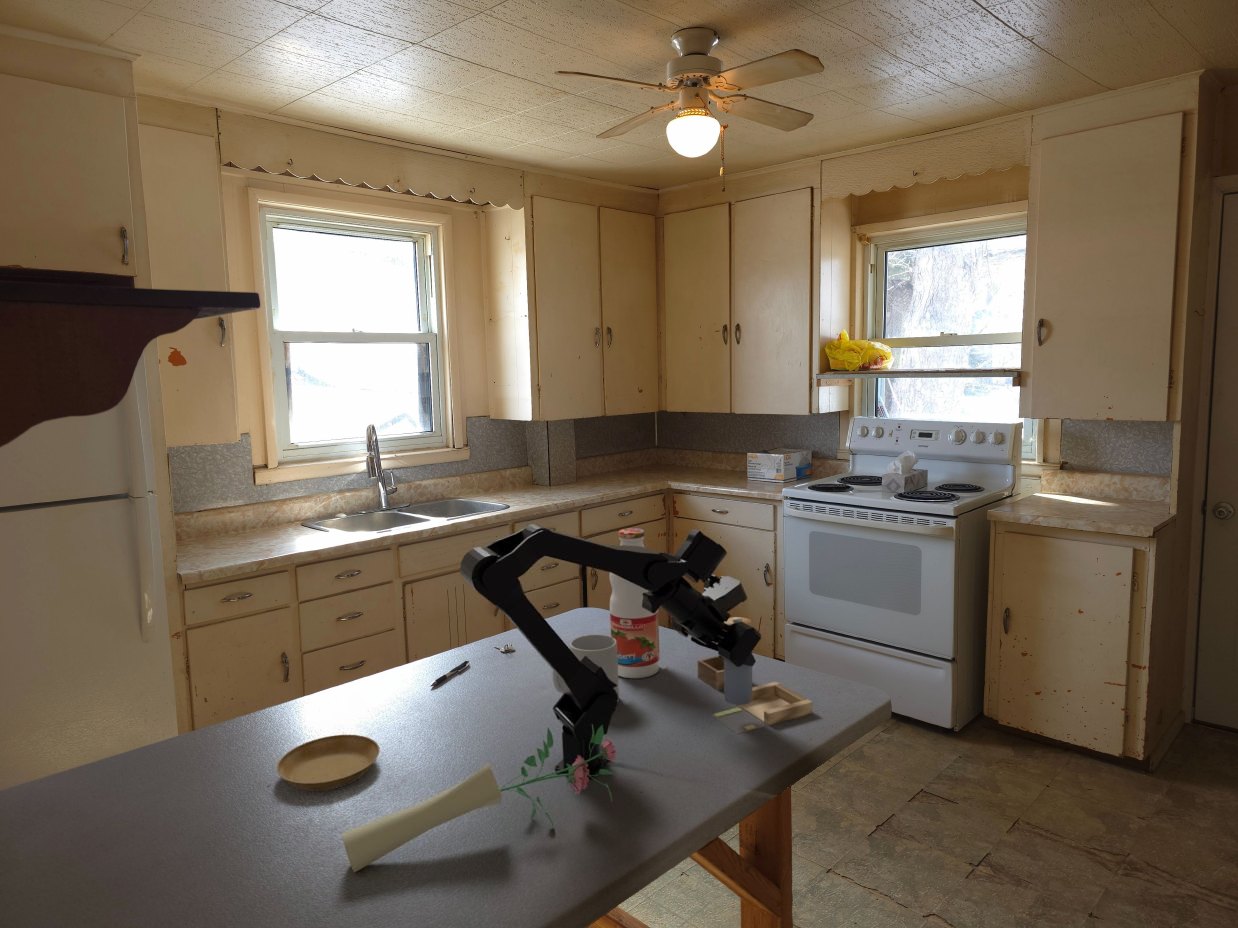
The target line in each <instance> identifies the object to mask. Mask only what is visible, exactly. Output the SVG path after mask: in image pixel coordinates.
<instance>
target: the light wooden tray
mask: <svg viewBox="0 0 1238 928" xmlns="http://www.w3.org/2000/svg"><path fill="white" fill-rule="evenodd" d="M752 693H753V700H752V702H750V703H748V704H744V705H736V706H737V707H738V708H739V707H740V708H741V709H743V710H744V711H746V712H747V713H749V714H750V715H752V716H753V717H755V718H757V719H758V720H760V721H761V722H763V723H764V724H766V725H767V727H768V726H773V725H777V724H780V723H783V722H787V721H792V720H795V719H798V718H802V717H805V716H809V715H812V714H813V701H812V700H810V699H808V698H806V697H804V696H802V695H801V694H799V693H797V692H795V691H794V690H792V689H790V688H788V687H787V686H784V685H783V684H782V683H780V682H778V681H772V682H769V683H764V684H760V685H757V686H752Z"/></svg>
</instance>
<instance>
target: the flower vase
mask: <svg viewBox="0 0 1238 928" xmlns="http://www.w3.org/2000/svg"><path fill="white" fill-rule="evenodd" d="M592 729H593V724H592ZM604 736H605V735H604V731H603V725H601V727H600V728H599V729H598V730H597V732H596V735H595V737H594V729H593V734H592V738H591V742H592V743H594V745H595V744H601V747H599V748H600V750H601V753H600V754H598V755H596V756H594V757H592V758H590V759H588V760H586V761H585V760H584V758H582V757H581V756H579V755H578V758H576V761H575V762H574V763H573V764H572V766H571V765H569V764H567V766H568V768H566V769H563V770H560V771H554V772H550V773H546V774H544V775H541V776H539V774H540V773H541V771H542V769H543V767H544V763H545V760H546V759H547V758H549V757H550V751H549V749H550V748H552V747H554V738H553V734H552V732H551V729H550V728H549V727H547V731H546V741H545V740H544V739H543V742H542V743H543V744H542V745H543V750H542V749H541V748H538V747H537V748H536V751H537V757H538V759H539V761H540V764H541V767H540V769H539V771H538V774H537V775H536V777H534V778H532V779H529V780H526V781H524V780H525V778H528V776H529V773H528V771H529V770H530V769H531V768H532V767H534V768H535V767H536V768H537V767H538V765H537V760H536V755H533V754H532V755H530V756H527V757H526V759H525V760H524V761H523V763H524V764H526V765H527V766H529V768H528V769H527V770H526V768H525V766H523V765H522V766H521V768H520V771H521V774H520V775H518V776H516V777H514V778H513V779H511V780H510V781H508V782H506V783H505V784H504V785H503V786H501V788H500V786H499V785H498V783H497V780H496V777H495V775H494V773H493V770H492V767H491V765H490V762H487V763H486V764H485V765H484V766H482V767H481V768H479V769H478V770H477V771H475V772H474V773H473V774H472V775H470V776H469V777H468V778H466V779H464V780H463V781H461V782H459V783H458V784H456V785H453V786H452V787H450V788H448V789H445V790H443V791H442V792H440V793H437V794H436V795H434V796H432V797H429V798H428V799H425V800H424V801H421V802H419V803H417V804H414V805H413V806H412V805H411V806H409V807H407V808H404V809H402V810H401V809H400V810H398V811H396V812H393V813H391V814H388V815H385V816H382V817H380V818H378V819H375V820H372V821H371V822H368V823H365V824H363V825H360V826H357V827H355V828H353V829H349V830H347V831H344V832H341V836H342V842H343V845H344V850H345V852H346V856H347V858H348V861H349V864H350V867H351V869H352V870H353V871H352V872H353V873H357V872H358V871H360V870H361V869H364V868H365V867H367V866H369V865H370V864H373V863H374V862H376V861H377V860H380V859H382V858H383V857H385V856H386V855H388V854H389V853H392V852H393V851H395V850H397V849H399V848H400V847H402V846H404V845H405V844H407V843H409V842H411V841H413V840H414V839H416V838H418V837H420V836H421V835H423V834H425V833H427V832H428V831H430V830H431V829H434V828H437V827H438V826H441V825H443V824H446V823H448V822H450V821H452V820H455V819H456V818H459V817H461V816H463V815H466V814H469V813H471V812H473V811H476V810H479V809H483V808H486V807H491V806H495V805H499V804H501V805H502V797H503V795H502V792H504V791H509V792H511V789H515V788H516V792H517V793H518V794H519V795H521V796H524V797H525V798H527V799H530V800H531V803H532V805H533V806H532V809H531V813H530V818H531V819H532V818H534V817H536V814H537V810H539V811H540V812H541V813H543V814H545V815H546V817H548V819H549V821H550V823H551V825H552V828H553V831H556V829H555V825H554V823H553V820H552V819H551V816H550V815H549V814H548V812H546V811H542V810H544V807H543V804H542V801H541V797H539V796H538V795H537V796H536V799H535V798H532V796H530V795H529V794H527V793H526V791H525V790H524V789H523V788H522V786H525V785H529V784H530V785H531V784H533V783H536V782H541V781H545V780H550V779H556V778H561V777H568V778H567V781H566V785H568V784H569V783H570V785H571V786H572V787H573V789H574V790H576V791H575V794H577V795H578V796H580V794H581V792H582V790H585V789H586V788H587V787H588V783H589V781H590V779H593V780H594V781H596V782H598V783H600V784H602V785H604V786H605V787H606V788H607V790H608V794H609V797H610V801H611V802H610V803H612V802H613V797H612V793H611V791H610V786H609V785H608V783H603V782H601V781H598V780H597V779H595V777H597V776H599V775H610V776H611V775H614V773H613V772H612V771H611V770H608V769H604V768H602V769H600V771H599V772H598V773H597V774H596V775H590V777H591V776H594V777H593V778H592V777H591V778H588V777H586V776H587V775H588V776H589V774H588V773H589V769H587V768H586V767H587V766H588V764H587V763H586V762H588V761H590V760H592V759H594V758H596V757H598V756H600V755H602V756H603V759H604V758H607V759H609V760H610V761H609V762H612V763H613V762H614V761H615V759H616V749H615V748H616V747H615V745H614V743H613V742H612V741H611V740H610V739H609V738H607V737H605V738H604ZM603 739H604V740H603ZM591 742H590V743H591ZM602 742H603V743H602ZM593 747H594V746H593ZM593 747H592V748H593ZM589 749H590V744H589ZM591 751H592V749H591V750H590V755H591ZM585 763H586V764H585ZM566 770H569V774H568V773H563V771H566ZM559 773H560V774H559ZM521 776H523V778H522V779H523V781H522V782H521V783H516V784H513V785H510V786H506V785H507V784H509V783H511V782H512V781H514V780H515V779H517V778H519V777H521ZM535 802H537V804H538V805H540V807H541V809H540V808H539V807H538V806H537V805H536V803H535Z"/></svg>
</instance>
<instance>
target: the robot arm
mask: <svg viewBox="0 0 1238 928" xmlns="http://www.w3.org/2000/svg"><path fill="white" fill-rule="evenodd" d="M727 555H728V551H727V550H726V549H725V548H724V547H723V546H722V545H721V544H720V543H718V542H715V540H713V539H712V538H710V537H708V536H707V535H705V534H704V533H703V532H702V531H700V530H699V529H695V528H692V529H691V531H690V532H689V533H688V534H687V536H686V539H685V540H684V542H683V543H682V544H681V545H680V547H679V548H678V550H677V551H676V552H675V554H670V553H668V552H662V551H661V552H660V551H657V552H656V551H653V550H652V549H649V548H647V547H645V546H644V547H641V546H627V545H621V546H620V545H609V544H604V543H601V542H597V541H593V540H590V539H586V538H582V537H579V536H574V535H572V534H568V533H563V532H560V531H557V530H554V529H553V530H552V529H550V528H546V527H544V526H543V525H541V524H537V523H532V524H528V525H526V526H525V527H523V528H522V529H520V530H518V531H516V532H514V533H511V534H510V535H506V536H504V537H501V538H500V539H496V540H494V541H492V542H491V543H489V544H488V545H486V546H477V547H474V548H472V549H469V550H468V551H467V552H466V553H465V555H463V557H462V560H461V561H460V569H459V572H460V575H461V577H462V579H463V581H464V582H466V583H467V584H468V585H469V586H470V587H471V588H473V590H475V591H476V592H477V593H478V594H480V595H481V596H482V597H483V598H485V599H486V600H488V602H490V603H491V604H492V605H494V606H495V607H496V608H498V610H500V611H502V612H503V614H504V615H505V616H506V618H508V619H509V620H510V622H511V623H512V624H513V625H514V626H515V627H516V629H517V630H518V631H519V632H520V633H521V635H522V636H523V637H524V638H525V639H526V640H527V641H528V643H529V644H530V645H531V646H532V647H533V648H534V650H535V651H536V652H537V653H538V654H539V656H540V657H541V658H542V659H543V660H544V661H545V663H547V664H548V666H549V667H550V668H551V670H552V671H553V670H554V672H555V673H556V675H557V677H558V680H559V683H560V685H561V687H562V689H563V690H564V692H565V693H562V695H561V697H559V699H558V700H557V701H556V702H555V704H554V705H553V707H552V711H553V713H554V715H555V718H556V719H557V720H558V721H560V723H561V724H562V728H561V729H562V731H561V744H562V759H561V760H560V761H559V762H558V763H556V765H554V772H557V771H560V770H563V769H566V768H568V766H567V764H569V765H571V766H572V764H573V763H574V762H575V761H576V758H578V755H579V756H581V757H582V758H584V760H585V761H586V760H588V759H590V758H592V757H594V756H596V755H598V754H600V753H601V750H600V748H599V747H601V746H602V743H601V744H595V745H594V743H592V742H591V738H592V734H593V729H594V737H595V735H596V732H597V730H598V729H599V728H600V727H601V725H603V731H604V735H603V736H605V735H607V733H608V731H609V727H610V724H611V720H612V717H613V714H614V713H615V712H616V709H617V707H618V704H619V702H618V699H619V700H620V697H619V698H618V694H617V692H616V691H615V689H614V687H617V684H615V683H614V682H613V681H612V680H610V679H609V678H608V677H607V675H606V673H605V672H604V670H603V669H602V667H601V666H599V665H598V664H597V663H596V662H594V661H593V660H592V659H590V658H589V657H588V656H587V655H585V656H584V657H583V659H582V660H581V661H579V660H578V658H577V657H576V656H575V655H574V654H573V652H572V651H571V650H570V647H569V646H568V645H567V644H566V642H564V640H563V639H562V638H561V637H560V636H559V634H558V633H557V632H556V631H555V630H554V629H553V627H552V626H551V625H550V624H549V623H548V621H547V620H546V619H545V618H544V616H543V615H542V614H541V613H540V612H539V611H538V609H537V608H536V607H535V606H534V605H533V603H532V602H531V601H530V600H529V599H528V597H527V595H526V593H525V591H524V588H523V586H522V583H521V581H520V580H519V578H520V577H521V576H523V575H525V574H526V573H528V571H529V570H530V569H531V568H532V567H533V566H534V565H535V564H536V563H537V562H538V561H539V560H541V559H542V558H544V557H549V558H552V559H556V560H560V561H564V562H567V563H572V564H576V565H580V566H584V567H587V568H588V567H589V568H591V569H594V570H599V571H603V572H607V573H610V572H611V573H613V574H615V575H617V576H619V577H621V578H623V579H625V580H627V581H629V582H631V583H634V584H636V585H638V586H640V587H642V588H644V589H646V590H648V592H645V593H643V594H642V595H643V600H642V607H643V608H644V609H646V610H648V611H649V612H651V613H656V611H657V610H658V611H659V609H660V607H661V609H662V610H664V611H665V612H666V613H667V614H669V615H670V616H671V628H672V629H673V630H674V631H676V632H677V634H679V635H681V636H683V637H684V638H686V639H687V638H688V637H689V636H690V641H691V642H693V643H694V644H695V645H698V646H700V647H704V648H705V649H706V648H707V649H710V650H713V651H716V652H717V654H718V656H719V657H721V658H722V659H724V660H726V661H728V662H729V663H731V664H733V665H734V666H736V667H739V666H742V664H744V665H748V666H752V667H753V666H754V665H755V663H756V662H757V661H756V659H755V656H754V655H753V651H754V649H755V647H756V646H757V645H758V644H759V642H760V641H761V639H762V633H760V632H759V631H758V630H757V629H756V628H755V627H754V626H753V625H752V626H749V625H747V624H745V623H743V622H737V623H734V624H731V625H730V626H729V625H727V624H725V623H724V622H725V621H726V622H727V620H728V619H729V618H731V617H732V615H731V614H730V611H731V610H733V609H734V608H735V607H738V606H739V605H740V604H741V603H744V602H745V601H746V600H748V596H747V593H746V591H745V589H744V587H743V584H742V582H741V580H739V579H736V578H734V577H731V576H729V575H726V576H725V575H721V576H720V577H718V576H717V575H715V574H714V572H715V571H716V570H717V569H718V567H719V566H720V564H721V563H722V562H723V560H724V559H725V558H726V556H727ZM685 577H686V578H687V579H688V580H689V581H691V582H692V583H695V584H698V583H699V582H702V583H703V590H704V591H703V592H702V593H701V592H700V591H698V589H696V588H695V587H694V586H693V585H692V584H691V583H690V582H689V581H688V580H686V579H685ZM724 630H725V631H724ZM726 631H727V632H726ZM592 724H593V729H592ZM590 742H591V743H590ZM589 744H590V749H589ZM593 746H594V747H593ZM592 747H593V748H592ZM591 749H592V751H591V755H590V750H591ZM609 762H611V761H610V759H607V758H604V759H603V756H602V755H600V756H598V757H596V758H594V759H592V760H590V761H588V762H586V763H587V764H588V766H587V767H586V768H587V769H589V773H588V774H589V776H588V775H587V776H586V777H588V778H589V779H593V778H595V776H591V777H592V778H591V777H590V775H598V774H599V771H600V769H604V767H605V766H606V765H607V764H608V763H609ZM586 763H585V764H586ZM562 774H569V770H566V771H563V772H562Z"/></svg>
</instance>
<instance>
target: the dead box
mask: <svg viewBox="0 0 1238 928" xmlns="http://www.w3.org/2000/svg"><path fill="white" fill-rule="evenodd" d="M697 679H699V680H701V681H702V682H703V683H705V684H707V685H708V686H710V687H712V688H713V689H714V690H716V691H718V692H719V691H724V659H722V658H721V657H719V655H715V656H710V657H706V658H703V659H702V658H701V659H697Z"/></svg>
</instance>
